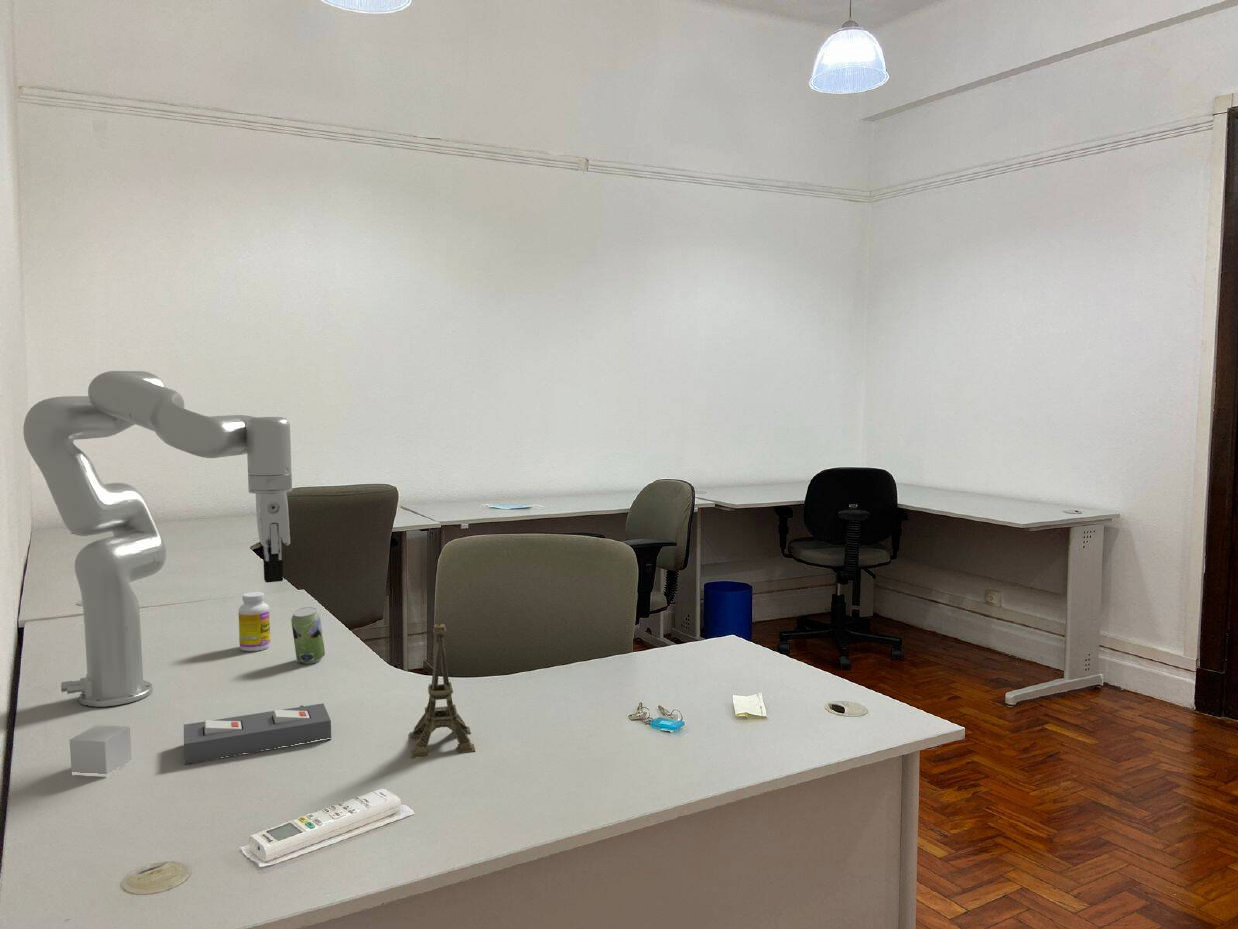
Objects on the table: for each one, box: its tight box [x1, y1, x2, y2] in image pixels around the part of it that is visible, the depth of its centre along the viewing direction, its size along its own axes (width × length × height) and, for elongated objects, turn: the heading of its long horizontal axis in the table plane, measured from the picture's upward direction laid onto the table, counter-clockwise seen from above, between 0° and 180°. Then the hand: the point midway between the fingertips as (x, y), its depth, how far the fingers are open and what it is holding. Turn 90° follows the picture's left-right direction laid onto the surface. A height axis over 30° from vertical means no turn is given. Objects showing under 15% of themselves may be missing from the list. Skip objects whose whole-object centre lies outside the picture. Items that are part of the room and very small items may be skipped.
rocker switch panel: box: [183, 703, 332, 765], centre depth 156 cm, size 23×16×4 cm
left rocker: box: [204, 719, 242, 735], centre depth 150 cm, size 6×4×1 cm, turn 117°
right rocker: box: [273, 709, 310, 724], centre depth 155 cm, size 6×4×1 cm, turn 117°
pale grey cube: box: [69, 724, 133, 774], centre depth 142 cm, size 6×6×6 cm
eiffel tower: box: [408, 609, 476, 759], centre depth 152 cm, size 11×11×25 cm
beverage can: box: [290, 606, 326, 665], centre depth 196 cm, size 6×7×12 cm
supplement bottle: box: [237, 591, 271, 652], centre depth 205 cm, size 7×7×13 cm
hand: (273, 580), depth 165 cm, fingers closed
